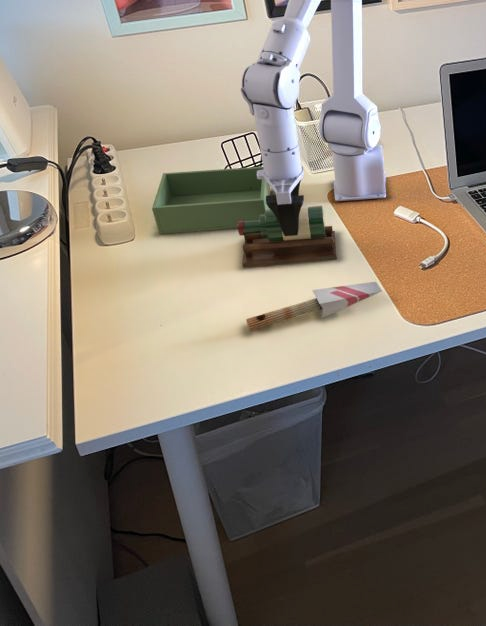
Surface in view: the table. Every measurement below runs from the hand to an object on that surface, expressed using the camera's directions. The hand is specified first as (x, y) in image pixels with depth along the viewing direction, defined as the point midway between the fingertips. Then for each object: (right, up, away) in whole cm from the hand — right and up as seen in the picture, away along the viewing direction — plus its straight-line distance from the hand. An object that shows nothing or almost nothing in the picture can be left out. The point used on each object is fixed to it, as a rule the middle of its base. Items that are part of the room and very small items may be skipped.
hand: (291, 222), depth 118 cm
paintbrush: (+6, -15, -10) cm, 19 cm away
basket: (-17, +4, +13) cm, 21 cm away
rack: (-1, -4, +3) cm, 5 cm away
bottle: (-2, -2, +2) cm, 3 cm away
